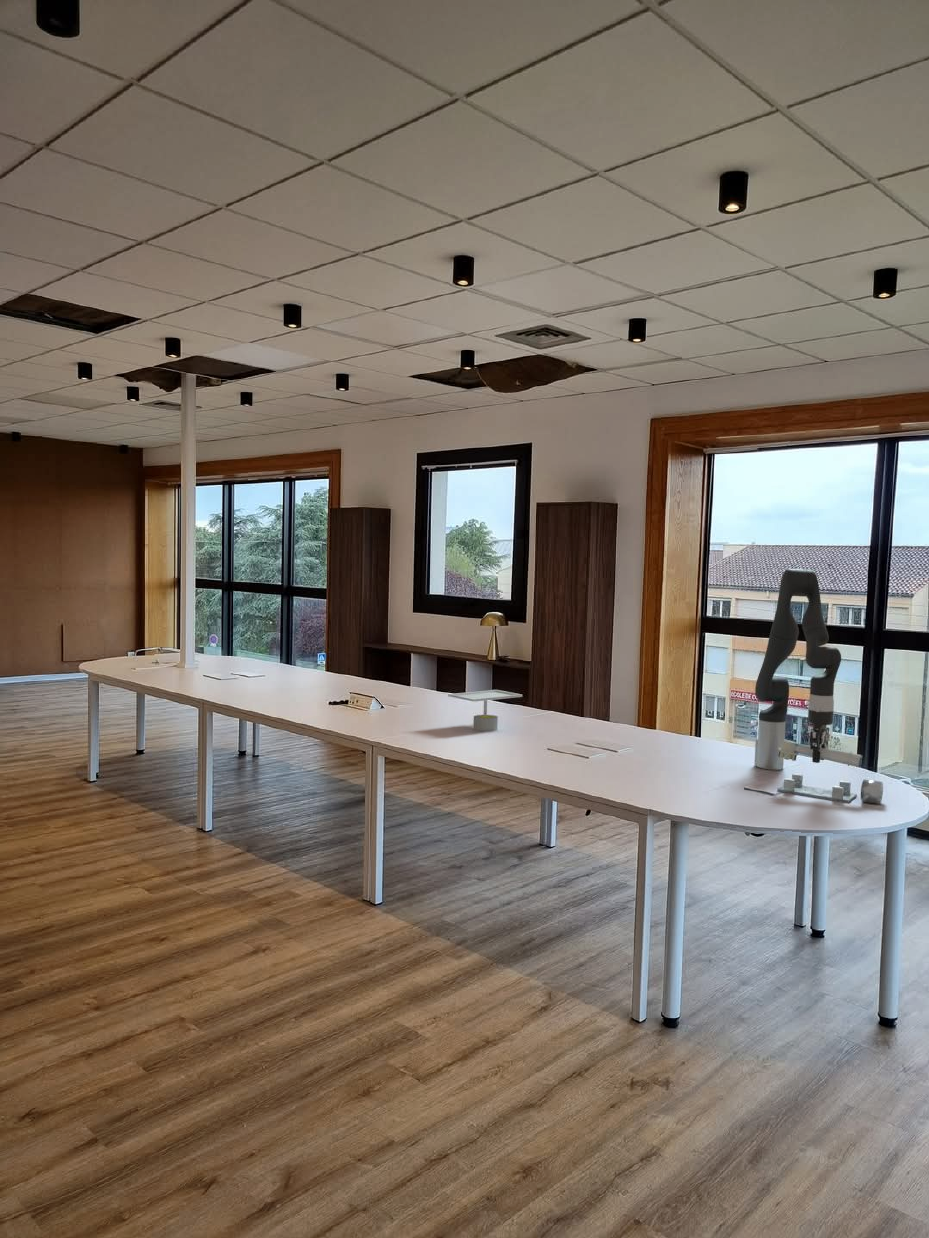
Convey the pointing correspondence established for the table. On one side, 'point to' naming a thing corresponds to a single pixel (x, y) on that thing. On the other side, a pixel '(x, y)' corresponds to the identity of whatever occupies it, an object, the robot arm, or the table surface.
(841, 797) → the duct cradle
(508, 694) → the grey flat rectangular-topped stand
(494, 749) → the table surface
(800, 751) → the white handheld massager
